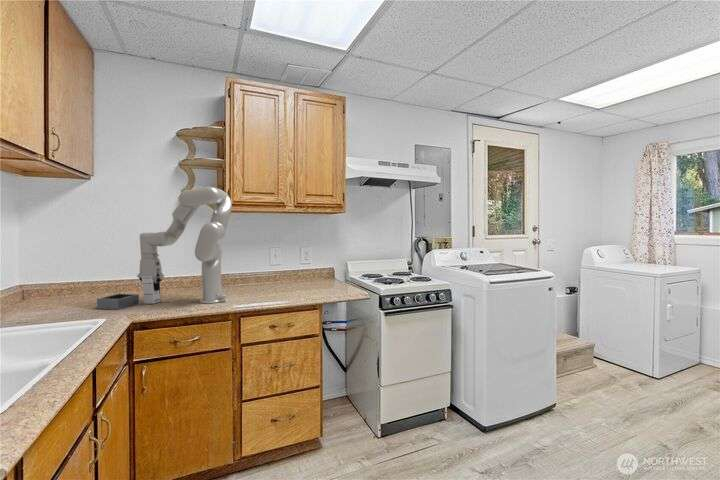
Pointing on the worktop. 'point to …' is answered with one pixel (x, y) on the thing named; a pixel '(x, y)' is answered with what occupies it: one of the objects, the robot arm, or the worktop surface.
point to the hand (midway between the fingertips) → (151, 290)
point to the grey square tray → (117, 301)
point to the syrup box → (150, 291)
